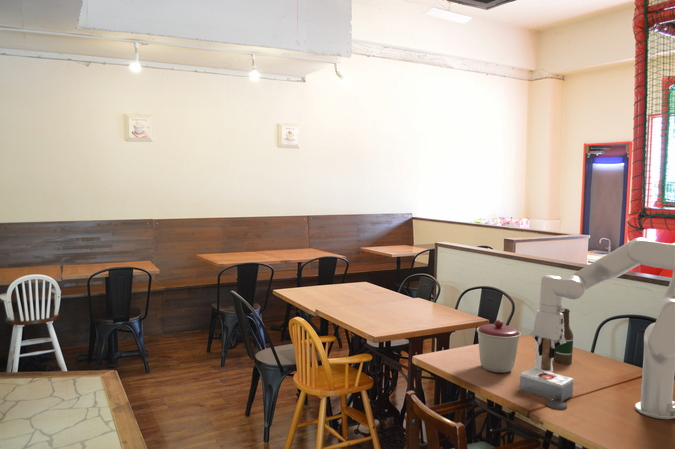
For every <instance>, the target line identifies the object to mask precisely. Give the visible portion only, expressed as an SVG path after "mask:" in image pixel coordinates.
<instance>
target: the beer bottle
mask: <svg viewBox="0 0 675 449" xmlns="http://www.w3.org/2000/svg"><path fill="white" fill-rule="evenodd" d="M563 308H564V309H565V310H564V312H561V313H563V318H564V337H565V340H566V343H564V344H561V345H559V346H557V347H556V355H555V356H554V358H553V361H554V363H556V364H559V365H566V366H567V365H571V364H572V362H573V361H572V360H573V350H574V349H573V348H574V346H573V345H574V334H573V331H572V330H571V326H570V309H569V308H565V307H563ZM559 341H561V339H559V340H558V341H557V342H559Z"/></svg>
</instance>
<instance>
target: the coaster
mask: <svg viewBox="0 0 675 449" xmlns="http://www.w3.org/2000/svg"><path fill="white" fill-rule="evenodd" d="M545 406H546V407H548V408H550V409H553V410H558V411H564V410H567V408H568V404H567V403H566V402H565V401H563V402H561V401H557V400H551V399H548V400H547V401H546V402H545Z"/></svg>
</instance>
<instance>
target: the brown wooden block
mask: <svg viewBox="0 0 675 449" xmlns="http://www.w3.org/2000/svg"><path fill="white" fill-rule="evenodd" d="M550 348H551V340H550V339H547V338H543V346H542V360H541V369H542V370H545V371H550V370H551V358H549V353H550Z"/></svg>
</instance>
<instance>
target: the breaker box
mask: <svg viewBox="0 0 675 449" xmlns="http://www.w3.org/2000/svg"><path fill="white" fill-rule="evenodd" d="M542 375H547V376H550V377H552V379H551V380H550V379H547V378H543V377H541V376H542ZM519 380H520V381H519V391H522V390H523V391H522V392H525V391H526V392H525V393H528V392H529V394H531V393H533V394H532V395H535V394H536V396H538V395H539V397H541V396H543V397H542V398H545V397H546V398H545V399H548V398H549V399H548V400H551V399H553V400H557V401H561V402H565V401H566V400H567V399H569V398H570V397H571V398H572V396H573V395H574V393H573V391H574V390H573V389H574V378H573V377H569V376H565V375H561V374H558V373H554V372H553V373H551V372H547V371H544V370H540V369H536V368H534V367H531V368H528V369H526V370H525V371H523V372H520V379H519Z"/></svg>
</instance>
